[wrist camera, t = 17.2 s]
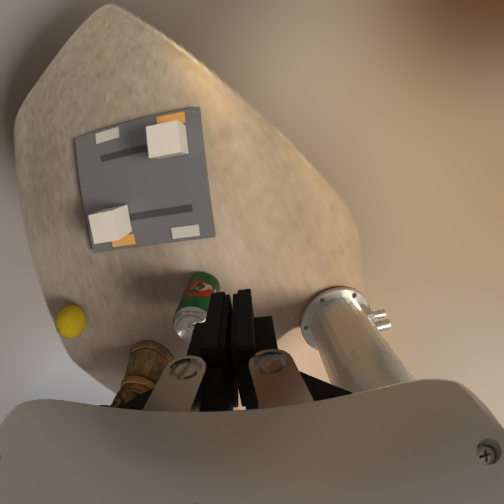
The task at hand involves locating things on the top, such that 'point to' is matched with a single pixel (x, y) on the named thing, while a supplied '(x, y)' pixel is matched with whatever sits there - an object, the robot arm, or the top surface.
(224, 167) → the top surface
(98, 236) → the back slider
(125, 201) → the switch panel
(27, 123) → the top surface
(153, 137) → the front slider
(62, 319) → the lemon
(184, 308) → the soda can
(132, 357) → the wooden mug
